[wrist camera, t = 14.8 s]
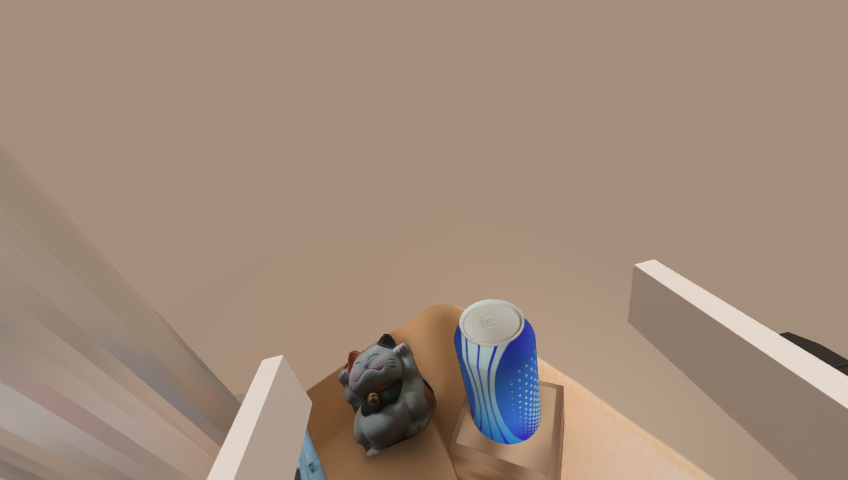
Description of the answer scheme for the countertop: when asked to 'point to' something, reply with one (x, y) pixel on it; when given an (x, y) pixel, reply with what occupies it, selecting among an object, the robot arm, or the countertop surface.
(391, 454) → the countertop surface
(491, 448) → the block
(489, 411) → the beer can
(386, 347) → the lucky cat figurine
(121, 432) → the robot arm
